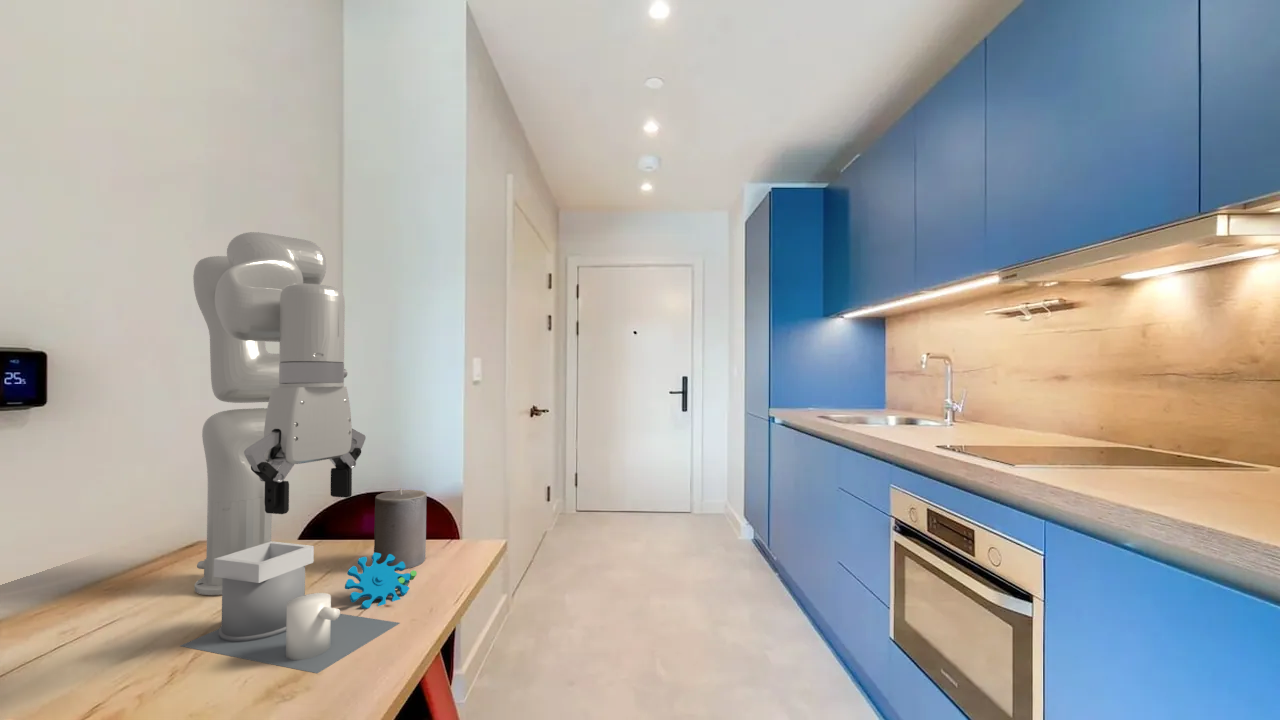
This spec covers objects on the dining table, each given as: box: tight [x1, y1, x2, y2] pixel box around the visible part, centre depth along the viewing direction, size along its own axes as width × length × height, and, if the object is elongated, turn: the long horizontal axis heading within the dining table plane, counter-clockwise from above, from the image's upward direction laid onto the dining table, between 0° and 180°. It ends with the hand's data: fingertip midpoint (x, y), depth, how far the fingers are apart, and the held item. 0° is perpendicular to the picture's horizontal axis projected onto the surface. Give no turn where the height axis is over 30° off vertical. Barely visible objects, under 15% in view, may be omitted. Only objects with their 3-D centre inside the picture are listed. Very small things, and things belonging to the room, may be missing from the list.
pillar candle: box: [373, 487, 428, 572], centre depth 108 cm, size 10×10×15 cm
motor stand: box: [179, 540, 401, 674], centre depth 76 cm, size 24×14×12 cm, turn 73°
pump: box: [286, 592, 341, 660], centre depth 71 cm, size 7×5×6 cm
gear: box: [344, 552, 417, 610], centre depth 89 cm, size 11×6×10 cm
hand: (310, 504), depth 72 cm, fingers open, 9 cm apart
